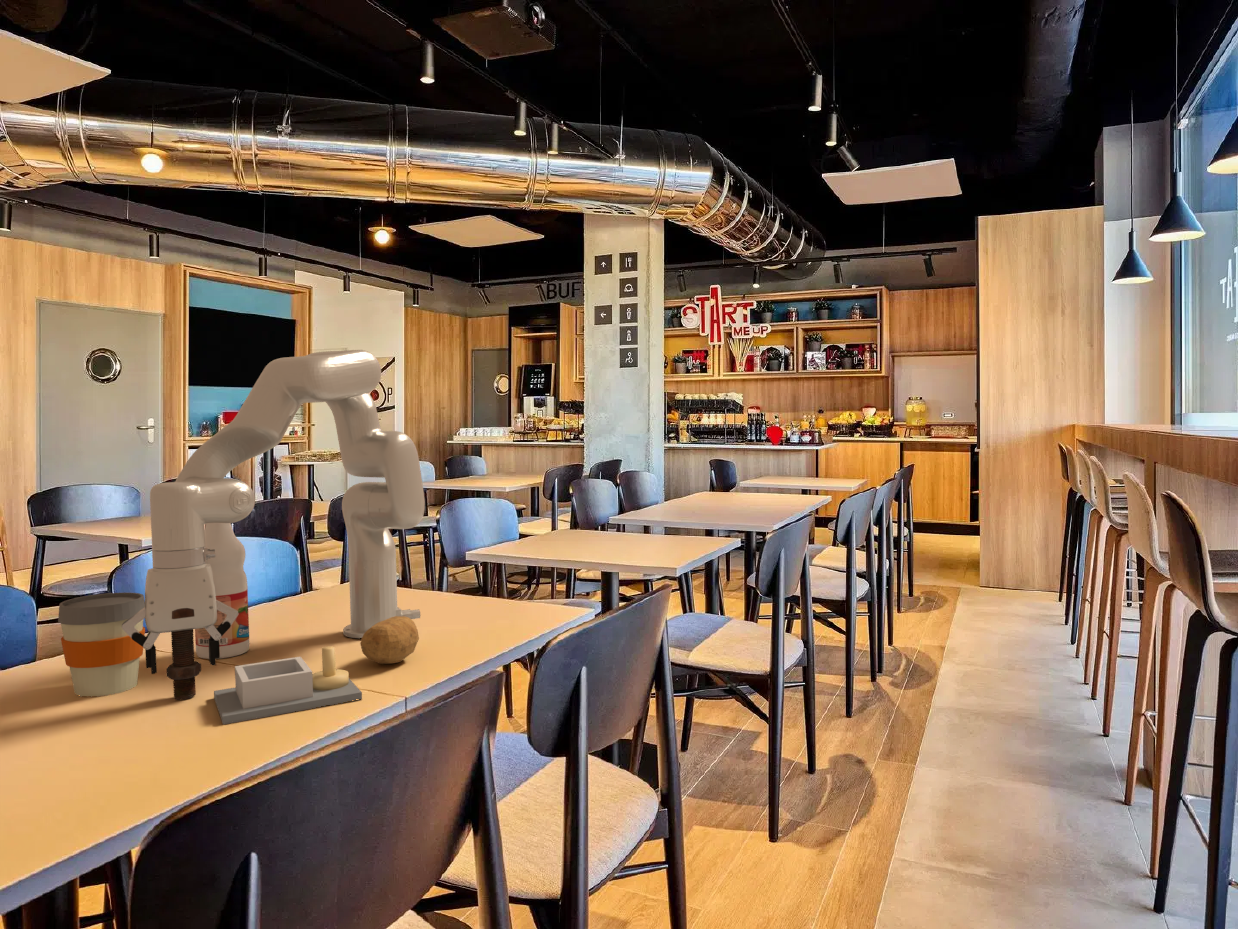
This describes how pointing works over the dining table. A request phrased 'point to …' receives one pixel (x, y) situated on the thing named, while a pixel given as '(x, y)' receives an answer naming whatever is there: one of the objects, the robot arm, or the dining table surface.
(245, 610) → the fruit juice
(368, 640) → the potato
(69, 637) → the reusable coffee cup
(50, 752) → the dining table surface
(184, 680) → the bolt
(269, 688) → the board
